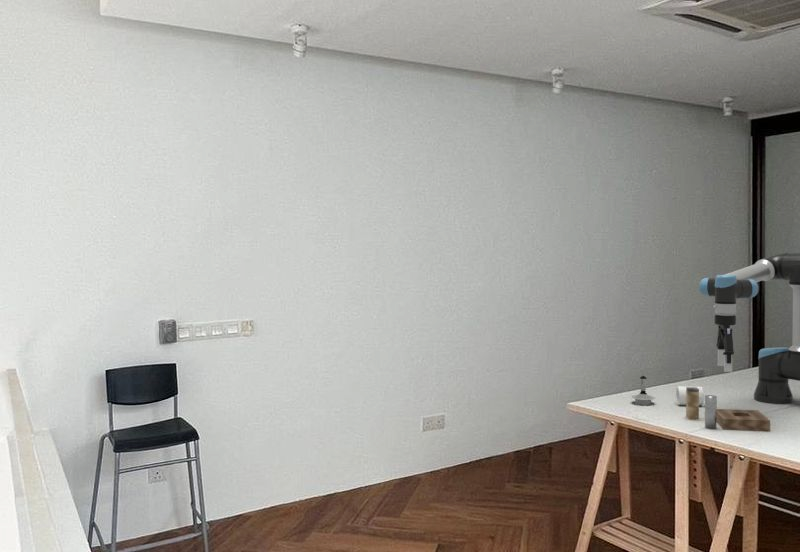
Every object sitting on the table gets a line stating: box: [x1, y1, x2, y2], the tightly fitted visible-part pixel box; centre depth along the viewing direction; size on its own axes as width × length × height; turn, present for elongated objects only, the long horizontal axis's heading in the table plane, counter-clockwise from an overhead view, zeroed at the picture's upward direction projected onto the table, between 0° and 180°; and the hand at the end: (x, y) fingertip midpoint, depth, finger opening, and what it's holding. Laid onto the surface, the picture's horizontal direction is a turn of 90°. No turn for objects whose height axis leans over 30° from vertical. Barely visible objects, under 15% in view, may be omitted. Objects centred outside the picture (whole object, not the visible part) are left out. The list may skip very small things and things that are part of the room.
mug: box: [675, 385, 705, 407], centre depth 302 cm, size 12×10×8 cm
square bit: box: [685, 386, 700, 420], centre depth 278 cm, size 4×4×12 cm
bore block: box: [716, 408, 771, 432], centre depth 266 cm, size 16×16×4 cm
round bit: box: [704, 394, 718, 430], centre depth 263 cm, size 4×4×12 cm
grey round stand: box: [630, 375, 656, 406], centre depth 305 cm, size 12×10×10 cm
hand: (724, 368), depth 272 cm, fingers open, 13 cm apart
